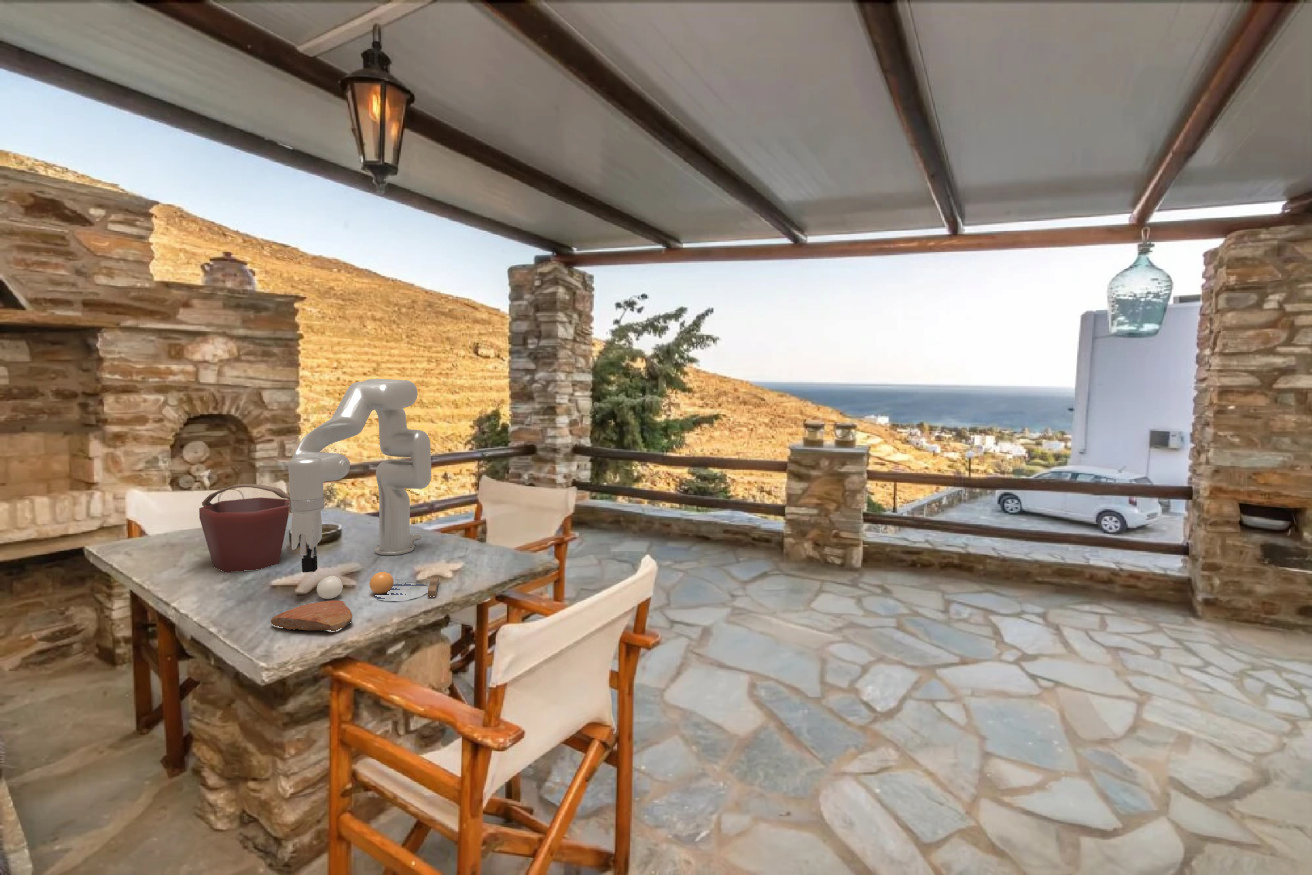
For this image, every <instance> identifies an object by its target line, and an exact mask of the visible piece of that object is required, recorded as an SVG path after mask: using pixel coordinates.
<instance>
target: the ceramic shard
mask: <svg viewBox="0 0 1312 875" xmlns="http://www.w3.org/2000/svg"><path fill="white" fill-rule="evenodd" d="M352 620H353V613H352V611H351V609H350V607H348V606H347V605H346V603H345V602H344V601H343V600H337V599H333V600H332V599H330V600H326V601H325V600H324V601H317V602H312V603H307V604H304V605H303V604H302V605H300V606H296V607H294V608H291V609H288V610H286V611H283V612H281V613H279V614H276V615H275V616H273V617H272V618H271V620H270V624H271V625H272V624H273V625H275V626H279V627H283V628H286V629H285V630H291V629H293V630H294V631H295V629H298V630H297V631H299V630H304V631H322V630H331V631H336V630H338V629H340V628H343V627H345V626H346V625H347V624H349V623H350V622H351V623H352ZM349 625H350V624H349ZM347 626H348V625H347ZM347 626H346V627H347ZM346 627H345V628H346Z"/></svg>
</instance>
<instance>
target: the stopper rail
mask: <svg viewBox="0 0 1312 875" xmlns="http://www.w3.org/2000/svg"><path fill="white" fill-rule="evenodd" d="M439 580H440V576H439V575H434V576H431V578H430V580H429V581H430V582H429V584H428V587H429V588H428V593H427V598H428V597H430V596H431V597H433V596H436V597H437V593H436V592H438V588H439V584H438V582H440V581H439ZM437 587H438V588H437Z"/></svg>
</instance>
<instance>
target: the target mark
mask: <svg viewBox="0 0 1312 875" xmlns="http://www.w3.org/2000/svg"><path fill="white" fill-rule="evenodd" d="M404 583H405V584H404V585H402V584H398V583H394V584H393V586H428V585H427V584H424V583H421V584H416V585H411V584H406V583H407V582H404ZM391 590H400V589H397V588H395V589H394V588H391ZM373 595H389V594H387V593H384V594H376V593H374V594H373ZM391 595H399V594H398V593H396V594H394V593H391ZM400 595H403V594H402V593H400ZM405 595H406V594H405ZM374 598H375V599H376V598H377V599H376V600H378V599H385V598H381V597H377V596H375V597H374Z"/></svg>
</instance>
